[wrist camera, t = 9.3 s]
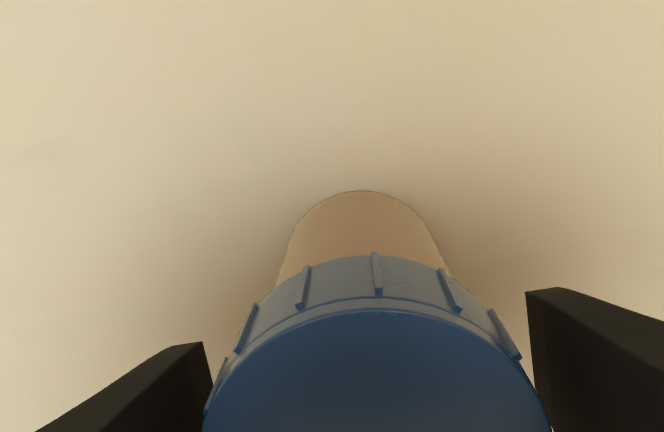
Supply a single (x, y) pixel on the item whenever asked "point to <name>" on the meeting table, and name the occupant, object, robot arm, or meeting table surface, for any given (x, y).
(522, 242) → the meeting table surface
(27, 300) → the meeting table surface
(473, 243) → the meeting table surface
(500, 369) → the lid
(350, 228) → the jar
